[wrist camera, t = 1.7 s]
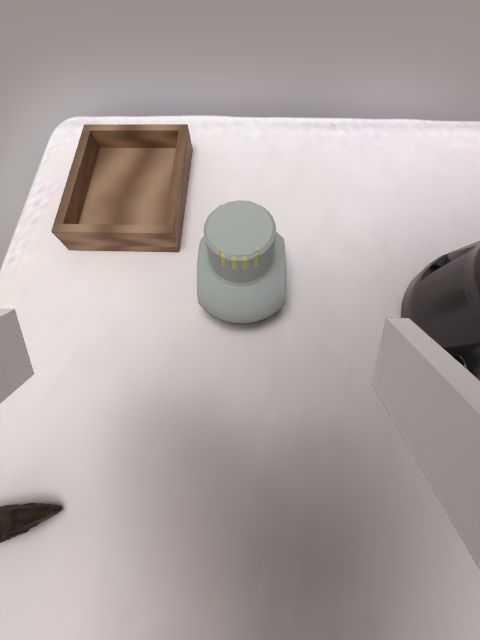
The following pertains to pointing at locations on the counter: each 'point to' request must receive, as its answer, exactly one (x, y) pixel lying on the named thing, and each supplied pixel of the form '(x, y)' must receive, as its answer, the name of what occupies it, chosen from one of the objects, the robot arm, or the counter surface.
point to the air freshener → (241, 264)
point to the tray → (126, 189)
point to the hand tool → (23, 518)
